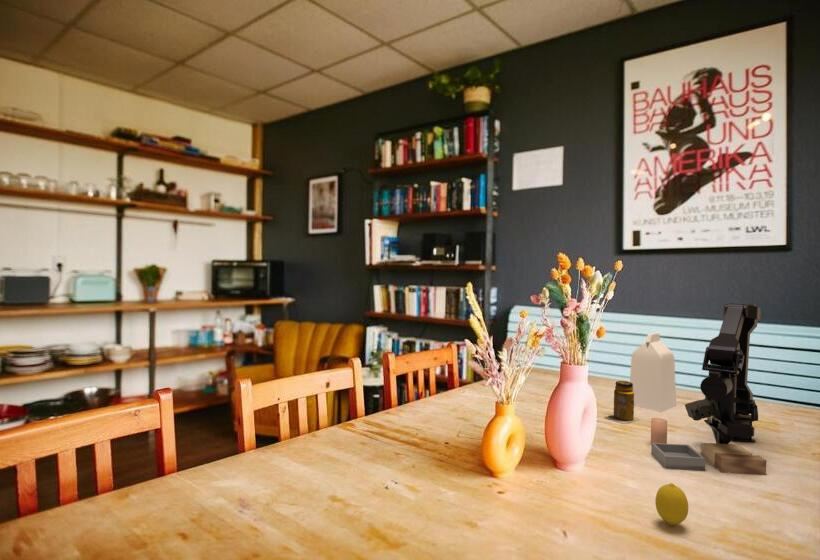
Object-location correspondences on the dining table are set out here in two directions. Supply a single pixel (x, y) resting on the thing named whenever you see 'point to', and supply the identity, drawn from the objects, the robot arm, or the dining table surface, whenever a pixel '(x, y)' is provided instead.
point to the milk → (653, 375)
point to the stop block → (740, 463)
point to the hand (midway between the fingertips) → (721, 450)
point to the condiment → (623, 403)
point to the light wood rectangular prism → (720, 451)
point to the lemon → (671, 504)
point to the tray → (678, 456)
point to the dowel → (658, 430)
